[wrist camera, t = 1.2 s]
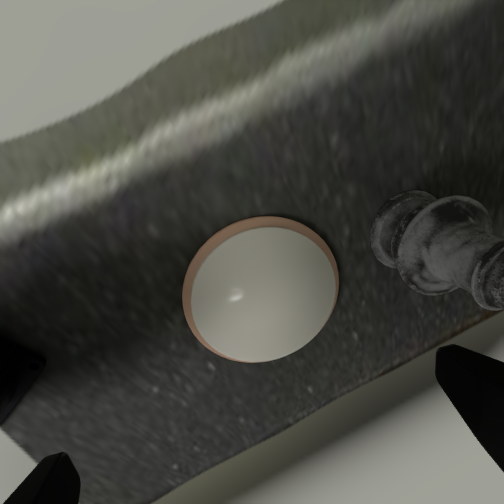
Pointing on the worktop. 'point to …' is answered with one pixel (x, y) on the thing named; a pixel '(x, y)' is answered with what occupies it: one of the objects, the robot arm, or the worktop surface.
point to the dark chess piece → (441, 245)
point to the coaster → (260, 289)
